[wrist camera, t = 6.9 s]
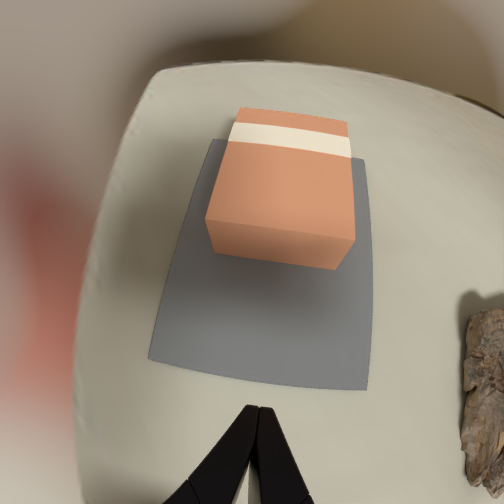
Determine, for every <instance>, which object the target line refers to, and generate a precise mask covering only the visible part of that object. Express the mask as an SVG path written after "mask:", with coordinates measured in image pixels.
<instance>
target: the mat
mask: <svg viewBox="0 0 504 504" xmlns="http://www.w3.org/2000/svg"><path fill="white" fill-rule="evenodd" d="M227 144H228V140H217V139H213V140H212V143H211V146H210V148H209V151H208V154H207V156H206V159H205V162H204V164H203V167H202V170H201V173H200V176H199V178H198V181H197V184H196V187H195V190H194V193H193V196H192V199H191V202H190V205H189V208H188V211H187V214H186V217H185V220H184V223H183V226H182V230H181V233H180V236H179V239H178V243H177V246H176V249H175V253H174V256H173V260H172V263H171V267H170V270H169V274H168V277H167V281H166V285H165V289H164V292H163V296H162V300H161V304H160V308H159V312H158V316H157V320H156V324H155V329H154V333H153V337H152V342H151V346H150V351H149V356H148V359H150V360H154V361H158V362H161V363H165V364H169V365H173V366H177V367H181V368H186V369H190V370H194V371H199V372H204V373H209V374H214V375H219V376H224V377H230V378H235V379H241V380H248V381H254V382H261V383H268V384H276V385H285V386H295V387H306V388H319V389H336V390H367V383H368V373H369V363H370V351H371V335H372V311H373V262H372V237H371V221H370V209H369V198H368V188H367V180H366V172H365V164H364V160H362V159H358V158H353V157H351V168H352V180H353V194H354V213H355V242H354V243H353V245H352V246H351V248H350V249H349V251H348V252H347V254H346V255H345V257H344V258H343V259H342V261H341V262H340V264H339V265H338V267H337V268H336V270H331V269H323V268H316V267H309V266H302V265H295V264H287V263H280V262H273V261H266V260H259V259H252V258H245V257H238V256H231V255H224V254H217V253H214V249H213V246H212V243H211V239H210V236H209V232H208V229H207V225H206V222H205V217H206V213H207V210H208V206H209V203H210V199H211V196H212V193H213V189H214V186H215V183H216V179H217V176H218V173H219V169H220V166H221V163H222V160H223V157H224V154H225V150H226V147H227Z"/></svg>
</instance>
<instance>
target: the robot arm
mask: <svg viewBox="0 0 504 504" xmlns="http://www.w3.org/2000/svg"><path fill="white" fill-rule="evenodd" d="M249 461H250V463H249ZM248 465H249V488H248V504H314V502H313V500H312V497H311V496H310V495H309V491H308V489H307V487H306V485H305V482H304V480H303V478H302V476H301V473H300V471H299V469H298V466H297V464H296V462H295V460H294V457H293V455H292V453H291V450H290V448H289V446H288V443H287V441H286V438H285V436H284V434H283V431H282V429H281V426H280V424H279V422H278V419H277V417H276V414H275V412H274V410H273V408H269V407H260V408H259V407H258V406H254V405H246V406H245V407H244V408H243V410H242V411H241V412H240V414H239V415H238V416H237V418H236V419H235V420H234V422H233V423H232V424H231V426H230V427H229V428H228V430H227V431H226V432H225V433H224V435H223V436H222V437H221V439H220V440H219V441H218V442H217V444H216V445H215V446H214V447H213V449H212V450H211V451H210V452H209V454H208V455H207V456H206V457H205V458H204V460H203V461H202V462H201V463H200V464H199V466H198V467H197V468H196V469H195V470H194V471H193V473H192V474H191V475H190V476H189V477H188V480H185V482H184V483H183V484H182V485H181V486H180V487H179V488H178V489H177V490H176V491H175V492H174V493H173V494H172V495H171V496H170V497H169V498H168V499H167V500H166V501H165V502H163V503H162V504H235V503H236V500H237V497H238V495H239V492H240V489H241V486H242V483H243V481H244V478H245V475H246V472H247V469H248Z"/></svg>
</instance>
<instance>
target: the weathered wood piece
mask: <svg viewBox="0 0 504 504" xmlns="http://www.w3.org/2000/svg"><path fill="white" fill-rule="evenodd" d="M466 332H467V335H466V345H467V349H466V359H465V360H464V362H463V367H464V378H463V390H464V391H466V392H467V391H469V390H470V392H469V394H468V396H467V399H466V403H465V410H464V419H463V426H462V430H461V436H460V438H461V442H462V448H461V450H462V451H464V452H466V458H467V459H466V471H467V480H468V482H469V484H470V486H474V487H478V486H479V485H480V484H481V483H482V482H483V483H482V484H483V486H484V487H486V489H487V491H488V492H489V494H490V495H491V497H492V498H498V497H499V496H500V495H501V494H502V493H503V492H504V310H503V309H500V308H491V309H483V310H482V311H481V312H480V314H474V315H472V316H471V317H470V318H469V322H468V327H467V331H466Z"/></svg>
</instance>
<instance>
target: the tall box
mask: <svg viewBox="0 0 504 504" xmlns="http://www.w3.org/2000/svg"><path fill="white" fill-rule="evenodd" d="M205 222H206V225H207V229H208V232H209V236H210V239H211V243H212V246H213V249H214V253H217V254H224V255H231V256H238V257H245V258H252V259H259V260H266V261H273V262H280V263H287V264H295V265H302V266H309V267H316V268H323V269H331V270H336V268H337V267H338V265H339V264H340V262H341V261H342V259H343V258H344V257H345V255H346V254H347V252H348V251H349V249H350V248H351V246H352V245H353V243H354V242H355V213H354V194H353V180H352V168H351V150H350V141H349V138H348V131H347V123H346V122H344V121H339V120H334V119H328V118H323V117H317V116H311V115H304V114H297V113H290V112H282V111H273V110H263V109H252V108H240V109H239V112H238V115H237V117H236V120H235V122H234V124H233V127H232V130H231V133H230V136H229V139H228V144H227V147H226V150H225V154H224V157H223V160H222V163H221V166H220V169H219V173H218V176H217V179H216V183H215V186H214V189H213V193H212V196H211V199H210V203H209V206H208V210H207V213H206V217H205Z"/></svg>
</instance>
